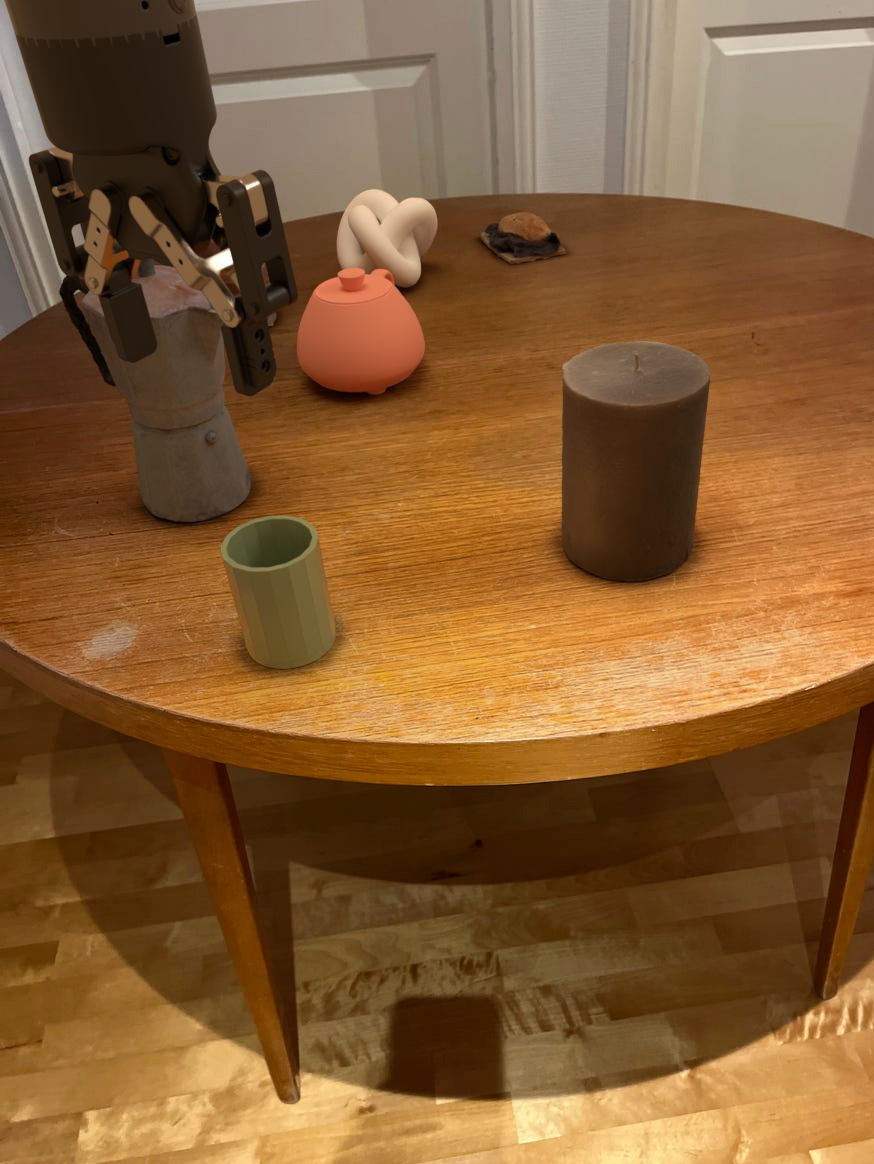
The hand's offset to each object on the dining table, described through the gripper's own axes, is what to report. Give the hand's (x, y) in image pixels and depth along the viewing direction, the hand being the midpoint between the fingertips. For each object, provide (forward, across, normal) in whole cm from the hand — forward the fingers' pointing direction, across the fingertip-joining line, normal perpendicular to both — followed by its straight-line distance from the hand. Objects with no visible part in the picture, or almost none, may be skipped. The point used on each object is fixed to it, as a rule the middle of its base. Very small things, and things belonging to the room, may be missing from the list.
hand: (196, 372), depth 52 cm
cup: (+20, 0, +2) cm, 20 cm away
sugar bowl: (+20, -20, +37) cm, 47 cm away
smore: (+20, -24, +74) cm, 80 cm away
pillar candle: (+20, +15, +23) cm, 34 cm away
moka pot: (+20, -19, +12) cm, 30 cm away
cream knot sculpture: (+20, -32, +59) cm, 70 cm away
